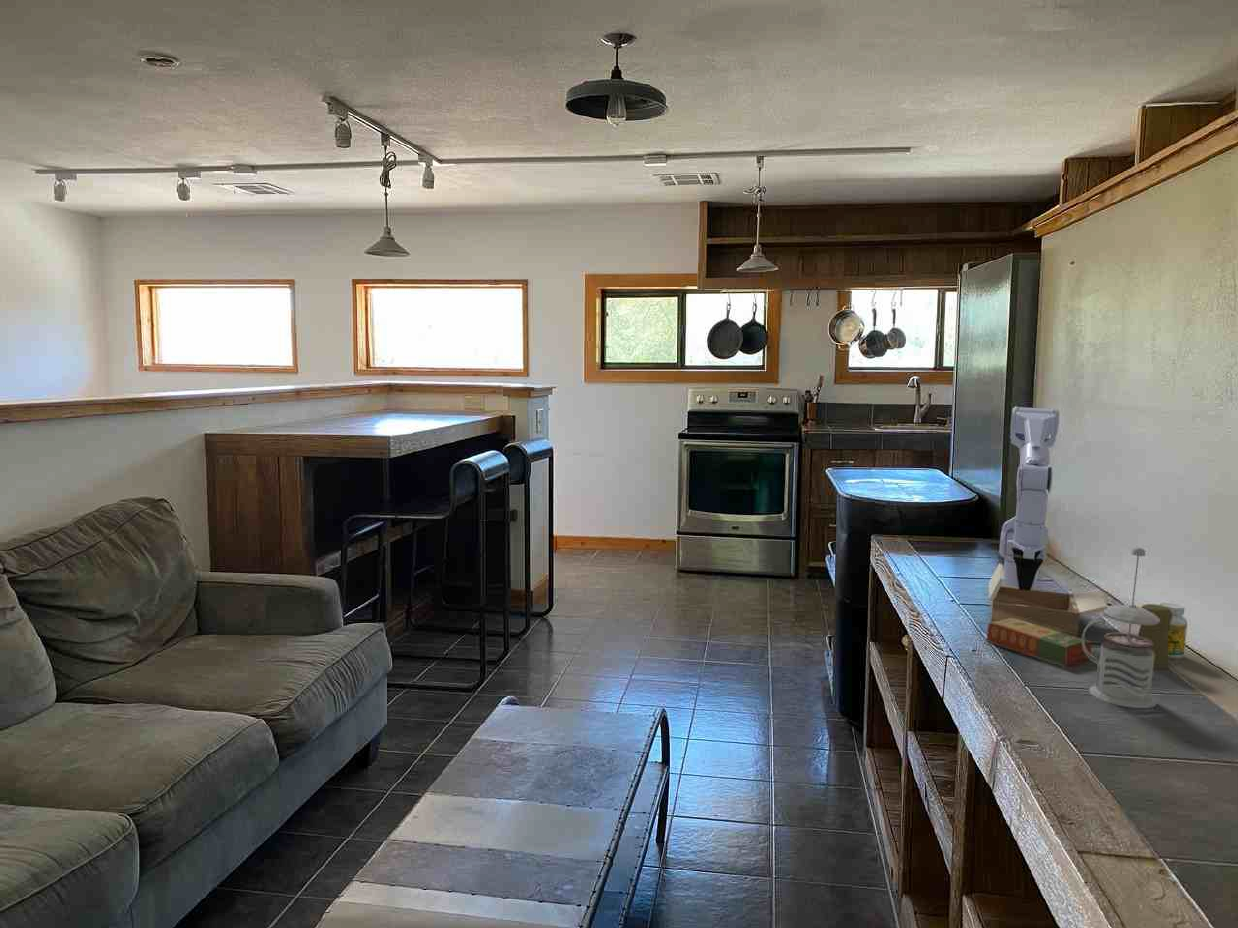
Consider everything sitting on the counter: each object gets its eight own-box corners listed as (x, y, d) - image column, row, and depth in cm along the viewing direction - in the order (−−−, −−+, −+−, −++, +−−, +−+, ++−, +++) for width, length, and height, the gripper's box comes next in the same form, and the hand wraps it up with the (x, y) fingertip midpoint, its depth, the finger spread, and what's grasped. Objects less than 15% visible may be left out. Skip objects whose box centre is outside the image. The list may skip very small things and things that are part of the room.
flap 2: (1098, 588, 191) (1099, 592, 191) (1073, 594, 193) (1074, 598, 193) (1107, 606, 178) (1108, 610, 178) (1079, 612, 180) (1081, 615, 180)
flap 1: (992, 584, 199) (988, 582, 199) (1002, 564, 198) (999, 563, 198) (993, 600, 185) (989, 599, 186) (1004, 579, 184) (1000, 577, 185)
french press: (1155, 713, 142) (1174, 557, 139) (1073, 695, 148) (1089, 546, 145) (1157, 694, 150) (1175, 547, 147) (1079, 678, 156) (1095, 537, 153)
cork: (1155, 671, 162) (1163, 611, 160) (1123, 660, 167) (1130, 602, 165) (1176, 667, 164) (1183, 608, 163) (1144, 656, 170) (1150, 599, 168)
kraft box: (990, 606, 200) (992, 584, 200) (1070, 616, 194) (1072, 594, 194) (990, 625, 186) (993, 602, 185) (1077, 637, 180) (1080, 613, 179)
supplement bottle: (1184, 654, 172) (1190, 605, 171) (1182, 661, 168) (1188, 611, 167) (1152, 647, 175) (1157, 599, 174) (1148, 654, 171) (1154, 605, 170)
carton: (1011, 637, 180) (1014, 616, 179) (1090, 662, 166) (1092, 639, 166) (985, 642, 175) (988, 621, 175) (1064, 668, 162) (1067, 645, 161)
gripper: (1008, 514, 196) (1002, 575, 198) (1010, 525, 183) (1003, 591, 185) (1043, 518, 194) (1037, 579, 195) (1048, 529, 180) (1041, 595, 182)
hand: (1023, 585), depth 190 cm, fingers open, 7 cm apart
